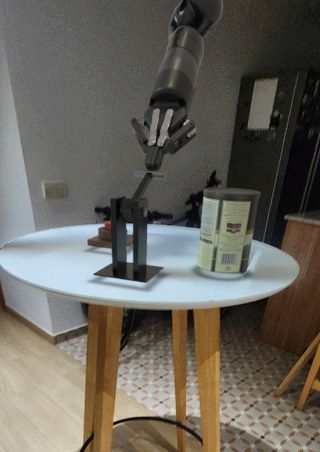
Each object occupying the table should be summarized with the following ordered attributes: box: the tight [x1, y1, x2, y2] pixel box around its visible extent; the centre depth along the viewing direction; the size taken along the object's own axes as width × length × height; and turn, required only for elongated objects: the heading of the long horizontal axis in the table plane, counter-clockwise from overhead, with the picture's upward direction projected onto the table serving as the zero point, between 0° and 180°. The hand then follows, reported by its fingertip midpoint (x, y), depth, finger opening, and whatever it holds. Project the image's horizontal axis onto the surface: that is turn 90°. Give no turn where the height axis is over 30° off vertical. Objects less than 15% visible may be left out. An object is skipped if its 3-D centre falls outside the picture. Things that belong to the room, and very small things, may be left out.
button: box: [104, 220, 111, 231], centre depth 83 cm, size 4×4×2 cm
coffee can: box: [196, 186, 262, 277], centre depth 70 cm, size 10×10×14 cm
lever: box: [119, 169, 168, 224], centre depth 64 cm, size 13×6×2 cm, turn 162°
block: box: [86, 225, 133, 250], centre depth 84 cm, size 8×10×4 cm
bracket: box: [92, 195, 164, 284], centre depth 64 cm, size 10×10×13 cm
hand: (151, 169), depth 66 cm, fingers closed
